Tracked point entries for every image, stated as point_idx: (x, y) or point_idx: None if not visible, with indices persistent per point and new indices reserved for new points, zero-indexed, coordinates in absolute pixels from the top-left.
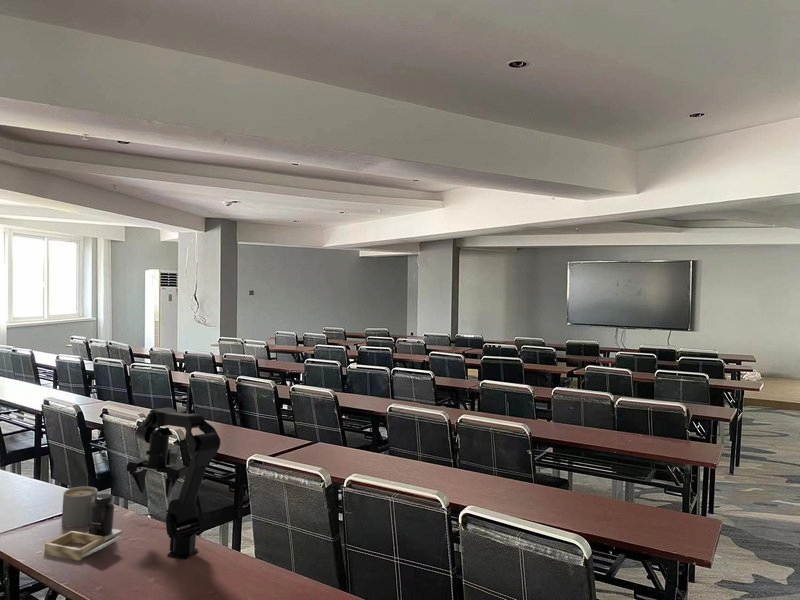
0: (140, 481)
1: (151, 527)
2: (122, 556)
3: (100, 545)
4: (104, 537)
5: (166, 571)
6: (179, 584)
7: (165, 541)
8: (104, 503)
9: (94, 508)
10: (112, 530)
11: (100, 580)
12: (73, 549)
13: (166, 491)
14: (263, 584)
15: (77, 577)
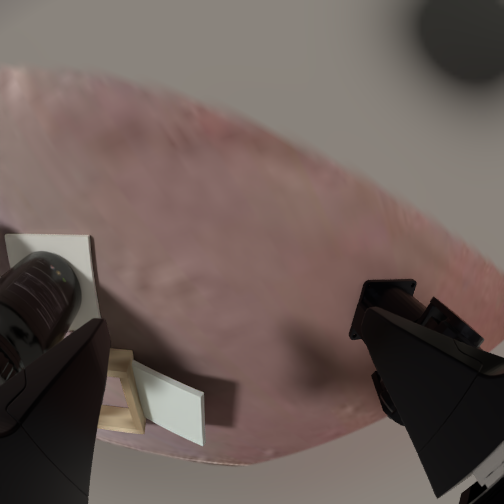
0: (83, 452)
1: (169, 150)
2: (228, 377)
3: (147, 388)
4: (127, 371)
5: (367, 382)
6: None
7: (301, 255)
8: None
9: None
10: (61, 250)
11: (255, 443)
12: (125, 431)
13: (390, 383)
14: (495, 333)
15: (205, 448)
